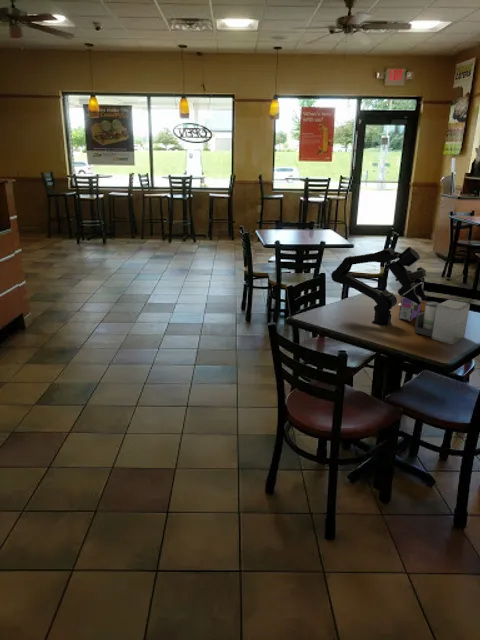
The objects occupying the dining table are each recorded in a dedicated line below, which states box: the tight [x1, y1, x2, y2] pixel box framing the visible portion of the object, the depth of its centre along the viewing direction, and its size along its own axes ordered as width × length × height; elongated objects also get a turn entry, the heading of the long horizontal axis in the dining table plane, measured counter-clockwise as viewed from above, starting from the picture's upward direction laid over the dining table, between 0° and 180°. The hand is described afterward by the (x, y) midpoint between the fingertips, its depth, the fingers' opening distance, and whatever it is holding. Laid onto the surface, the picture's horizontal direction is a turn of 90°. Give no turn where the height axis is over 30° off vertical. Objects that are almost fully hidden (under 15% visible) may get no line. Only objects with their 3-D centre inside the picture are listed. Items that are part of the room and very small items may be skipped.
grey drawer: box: [413, 310, 433, 338], centre depth 207 cm, size 10×10×8 cm
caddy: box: [431, 299, 471, 345], centre depth 200 cm, size 9×12×15 cm
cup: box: [422, 301, 441, 331], centre depth 206 cm, size 6×6×12 cm
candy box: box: [398, 281, 425, 322], centre depth 228 cm, size 14×6×16 cm, turn 143°
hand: (422, 301), depth 207 cm, fingers open, 8 cm apart
